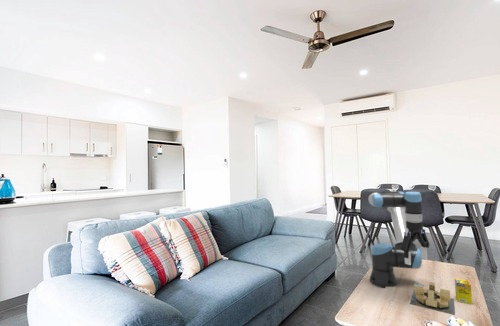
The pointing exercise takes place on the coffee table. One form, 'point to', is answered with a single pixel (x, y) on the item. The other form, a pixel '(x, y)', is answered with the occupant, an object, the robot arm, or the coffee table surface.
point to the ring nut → (432, 295)
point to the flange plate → (449, 309)
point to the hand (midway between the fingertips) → (416, 261)
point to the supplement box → (463, 291)
